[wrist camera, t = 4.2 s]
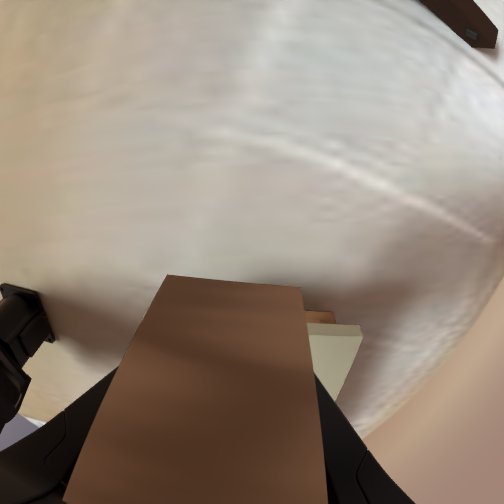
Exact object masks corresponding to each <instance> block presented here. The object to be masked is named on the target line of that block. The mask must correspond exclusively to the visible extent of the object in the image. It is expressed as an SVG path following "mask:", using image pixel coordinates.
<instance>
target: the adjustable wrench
mask: <svg viewBox="0 0 504 504" xmlns="http://www.w3.org/2000/svg"><path fill="white" fill-rule="evenodd" d="M420 1H421V2H422V3H423V4H424V5H426V6H427V7H428V8H429V9H430V10H432V11H433V12H434V13H435V14H436V15H437V16H438V17H439V18H441V19H442V20H443V21H444V22H445V23H446V24H447V25H448V26H449V27H450V28H451V29H452V30H453V31H454V32H455V33H456V34H457V35H458V36H459V37H460V38H462V39H463V40H464V41H465V42H466V43H468V44H469V45H470V46H471V47H475V48H491V49H495V44H496V40H497V35H498V29H497V28H496V27H495V25H494V24H493V23H492V22H491V20H490V19H489V18H488V17H487V16H486V14H485V13H484V12H483V11H482V10H481V9H480V8H479V6H478V5H477V4H476V3H475V2H474V1H473V0H420Z"/></svg>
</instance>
